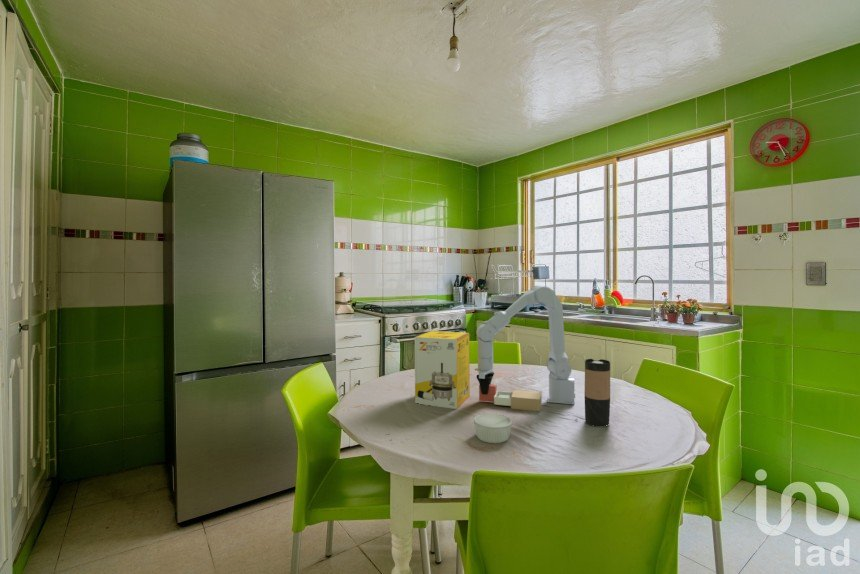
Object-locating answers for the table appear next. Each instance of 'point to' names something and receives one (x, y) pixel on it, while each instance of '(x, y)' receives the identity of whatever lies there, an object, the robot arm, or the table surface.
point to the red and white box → (496, 396)
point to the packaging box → (442, 369)
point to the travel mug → (597, 392)
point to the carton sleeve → (526, 400)
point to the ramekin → (493, 427)
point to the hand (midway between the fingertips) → (485, 393)
